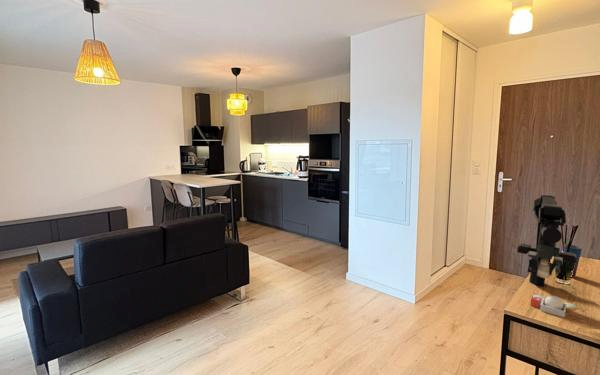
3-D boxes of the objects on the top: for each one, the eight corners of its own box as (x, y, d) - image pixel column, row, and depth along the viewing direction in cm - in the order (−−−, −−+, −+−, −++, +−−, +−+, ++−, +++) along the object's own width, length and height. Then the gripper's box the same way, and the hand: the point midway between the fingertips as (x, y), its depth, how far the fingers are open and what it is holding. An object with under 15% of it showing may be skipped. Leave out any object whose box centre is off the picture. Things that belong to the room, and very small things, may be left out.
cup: (577, 275, 158) (582, 246, 156) (577, 279, 153) (581, 249, 151) (560, 271, 163) (564, 243, 161) (559, 275, 158) (563, 246, 156)
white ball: (544, 304, 127) (546, 291, 126) (562, 309, 123) (564, 296, 123) (543, 310, 123) (544, 296, 122) (561, 315, 119) (563, 301, 118)
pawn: (535, 273, 134) (537, 256, 133) (546, 274, 133) (548, 257, 132) (539, 277, 130) (541, 259, 129) (550, 278, 129) (553, 260, 128)
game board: (534, 294, 138) (535, 286, 138) (577, 305, 129) (579, 297, 128) (528, 310, 125) (529, 301, 125) (576, 324, 116) (578, 315, 115)
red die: (531, 302, 129) (532, 294, 128) (540, 305, 127) (541, 297, 126) (530, 305, 127) (531, 297, 126) (539, 308, 125) (540, 300, 124)
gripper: (517, 235, 129) (513, 272, 131) (578, 246, 117) (572, 286, 119) (521, 230, 137) (517, 264, 140) (578, 239, 125) (573, 277, 127)
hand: (543, 272), depth 131 cm, fingers closed on pawn, 4 cm apart
